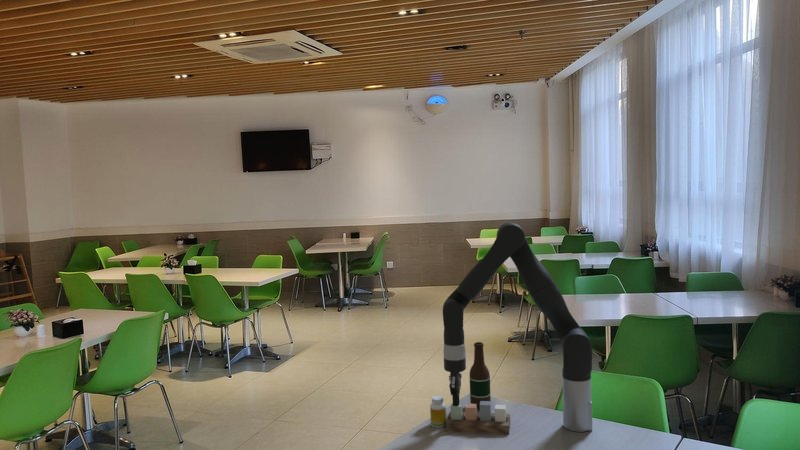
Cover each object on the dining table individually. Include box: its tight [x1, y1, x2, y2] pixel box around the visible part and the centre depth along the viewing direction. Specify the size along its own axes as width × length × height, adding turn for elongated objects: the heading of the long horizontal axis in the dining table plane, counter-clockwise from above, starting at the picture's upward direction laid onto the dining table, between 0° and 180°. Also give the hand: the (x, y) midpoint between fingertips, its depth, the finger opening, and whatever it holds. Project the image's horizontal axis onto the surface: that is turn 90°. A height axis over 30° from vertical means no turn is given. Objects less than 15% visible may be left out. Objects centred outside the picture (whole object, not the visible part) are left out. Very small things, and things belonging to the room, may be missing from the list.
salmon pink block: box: [464, 403, 478, 421], centre depth 211 cm, size 4×4×6 cm
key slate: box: [479, 401, 492, 421], centre depth 209 cm, size 4×4×6 cm
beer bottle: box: [469, 341, 492, 410], centre depth 228 cm, size 8×8×24 cm
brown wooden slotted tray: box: [445, 410, 511, 435], centre depth 210 cm, size 21×10×3 cm, turn 78°
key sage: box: [450, 402, 464, 420], centre depth 212 cm, size 4×4×6 cm
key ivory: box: [494, 404, 507, 422], centre depth 209 cm, size 4×4×6 cm
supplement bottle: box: [429, 395, 447, 429], centre depth 213 cm, size 5×5×10 cm
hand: (456, 404), depth 212 cm, fingers closed
